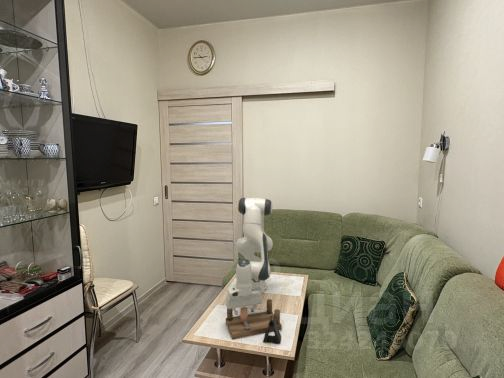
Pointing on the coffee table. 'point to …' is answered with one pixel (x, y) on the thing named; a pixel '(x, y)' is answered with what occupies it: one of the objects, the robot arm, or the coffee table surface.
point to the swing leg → (244, 317)
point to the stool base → (252, 322)
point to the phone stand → (277, 337)
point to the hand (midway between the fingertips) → (244, 313)
